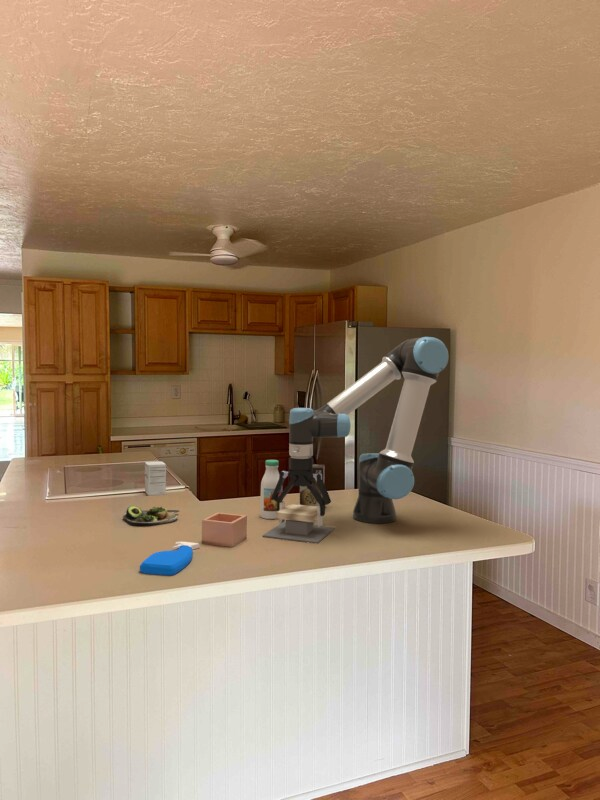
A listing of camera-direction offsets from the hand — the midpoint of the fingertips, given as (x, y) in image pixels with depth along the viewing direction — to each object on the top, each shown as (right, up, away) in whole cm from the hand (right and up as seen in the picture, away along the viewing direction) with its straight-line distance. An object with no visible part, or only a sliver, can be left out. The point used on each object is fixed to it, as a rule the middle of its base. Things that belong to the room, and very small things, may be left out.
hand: (300, 523), depth 192 cm
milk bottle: (-10, -2, +20) cm, 22 cm away
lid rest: (0, -3, 0) cm, 3 cm away
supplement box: (-59, +1, +54) cm, 80 cm away
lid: (0, +3, 0) cm, 3 cm away
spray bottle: (-35, -5, -28) cm, 45 cm away
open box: (-23, -3, -10) cm, 25 cm away
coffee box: (+4, -1, +33) cm, 34 cm away
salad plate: (-52, -2, +13) cm, 54 cm away
